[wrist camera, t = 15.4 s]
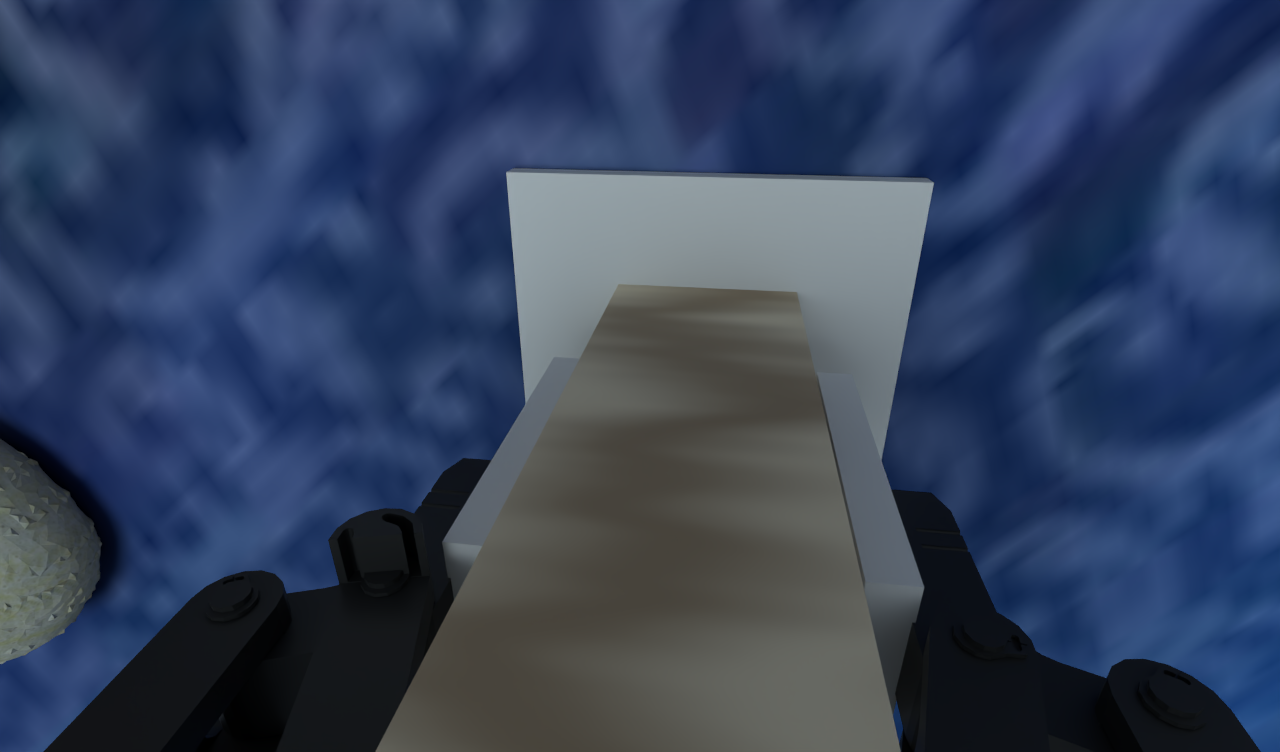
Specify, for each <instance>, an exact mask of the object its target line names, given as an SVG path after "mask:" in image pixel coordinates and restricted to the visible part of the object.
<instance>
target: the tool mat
mask: <svg viewBox="0 0 1280 752" xmlns="http://www.w3.org/2000/svg"><path fill="white" fill-rule="evenodd" d="M506 175H507V187H508V198H509V210H510V222H511V234H512V246H513V258H514V270H515V282H516V294H517V306H518V318H519V330H520V342H521V354H522V366H523V378H524V390H525V401H526V403H527V401H528V399H529V398H530V396H531V394H532V393H533V391H534V389H535V388H536V386H537V384H538V383H539V381H540V380H541V378H542V376H543V375H544V373H545V371H546V370H547V368H548V366H549V365H550V363H551V361H552V360H553V358H554V357H564V358H580V357H581V355H582V353H583V351H584V349H585V348H586V346H587V344H588V342H589V340H590V338H591V336H592V334H593V332H594V330H595V328H596V326H597V324H598V323H599V321H600V319H601V317H602V315H603V313H604V311H605V309H606V307H607V305H608V303H609V301H610V299H611V298H612V296H613V294H614V292H615V290H616V288H617V286H618V284H627V285H650V286H672V287H695V288H717V289H740V290H762V291H785V292H797V295H798V299H799V304H800V308H801V312H802V317H803V321H804V326H805V330H806V335H807V339H808V343H809V348H810V352H811V357H812V361H813V365H814V370H815V374H816V376H817V372H822V373H839V374H852V375H853V378H854V381H855V384H856V387H857V390H858V393H859V396H860V399H861V402H862V405H863V408H864V411H865V414H866V417H867V420H868V423H869V426H870V429H871V432H872V435H873V437H874V440H875V443H876V446H877V449H878V452H879V455H880V458H881V460H882V454H883V449H884V444H885V438H886V433H887V428H888V423H889V417H890V412H891V407H892V401H893V396H894V391H895V386H896V380H897V375H898V370H899V364H900V359H901V354H902V349H903V343H904V338H905V333H906V327H907V322H908V317H909V311H910V306H911V301H912V296H913V290H914V285H915V280H916V274H917V269H918V264H919V259H920V253H921V248H922V243H923V237H924V232H925V227H926V222H927V216H928V211H929V206H930V200H931V195H932V190H933V185H934V182H932V181H931V180H929V179H928V178H902V177H860V176H818V175H776V174H734V173H692V172H650V171H608V170H566V169H524V168H513V169H511V170H510V171H508V172H506Z"/></svg>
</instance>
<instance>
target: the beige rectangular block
mask: <svg viewBox="0 0 1280 752" xmlns="http://www.w3.org/2000/svg"><path fill="white" fill-rule="evenodd" d="M376 752H901V750H900V746H899V741H898V737H897V732H896V728H895V724H894V719H893V715H892V710H891V706H890V701H889V697H888V693H887V688H886V684H885V679H884V675H883V671H882V666H881V662H880V657H879V653H878V648H877V644H876V640H875V635H874V631H873V626H872V622H871V617H870V613H869V609H868V604H867V600H866V595H865V591H864V587H863V582H862V578H861V573H860V569H859V564H858V560H857V556H856V551H855V547H854V542H853V538H852V533H851V529H850V525H849V520H848V516H847V511H846V507H845V503H844V498H843V494H842V489H841V485H840V480H839V476H838V472H837V467H836V463H835V458H834V454H833V449H832V445H831V441H830V436H829V432H828V427H827V423H826V419H825V414H824V410H823V405H822V401H821V396H820V392H819V388H818V383H817V379H816V374H815V370H814V365H813V361H812V357H811V352H810V348H809V343H808V339H807V335H806V330H805V326H804V321H803V317H802V312H801V308H800V304H799V299H798V295H797V292H785V291H762V290H740V289H717V288H695V287H672V286H650V285H627V284H618V286H617V288H616V290H615V292H614V294H613V296H612V298H611V299H610V301H609V303H608V305H607V307H606V309H605V311H604V313H603V315H602V317H601V319H600V321H599V323H598V324H597V326H596V328H595V330H594V332H593V334H592V336H591V338H590V340H589V342H588V344H587V346H586V348H585V349H584V351H583V353H582V355H581V357H580V359H579V361H578V363H577V365H576V367H575V369H574V371H573V373H572V374H571V376H570V378H569V380H568V382H567V384H566V386H565V388H564V390H563V392H562V394H561V396H560V398H559V399H558V401H557V403H556V405H555V407H554V409H553V411H552V413H551V415H550V417H549V419H548V421H547V423H546V425H545V426H544V428H543V430H542V432H541V434H540V436H539V438H538V440H537V442H536V444H535V446H534V448H533V450H532V451H531V453H530V455H529V457H528V459H527V461H526V463H525V465H524V467H523V469H522V471H521V473H520V475H519V476H518V478H517V480H516V482H515V484H514V486H513V488H512V490H511V492H510V494H509V496H508V498H507V500H506V501H505V503H504V505H503V507H502V509H501V511H500V513H499V515H498V517H497V519H496V521H495V523H494V525H493V526H492V528H491V530H490V532H489V534H488V536H487V538H486V540H485V542H484V544H483V546H482V548H481V550H480V551H479V553H478V555H477V557H476V559H475V561H474V563H473V565H472V567H471V569H470V571H469V573H468V575H467V576H466V578H465V580H464V582H463V584H462V586H461V588H460V590H459V592H458V594H457V596H456V598H455V600H454V601H453V603H452V605H451V607H450V609H449V611H448V613H447V615H446V617H445V619H444V621H443V623H442V625H441V626H440V628H439V630H438V632H437V634H436V636H435V638H434V640H433V642H432V644H431V646H430V648H429V650H428V651H427V653H426V655H425V657H424V659H423V661H422V663H421V665H420V667H419V669H418V671H417V673H416V675H415V676H414V678H413V680H412V682H411V684H410V686H409V688H408V690H407V692H406V694H405V696H404V698H403V700H402V701H401V703H400V705H399V707H398V709H397V711H396V713H395V715H394V717H393V719H392V721H391V723H390V725H389V726H388V728H387V730H386V732H385V734H384V736H383V738H382V740H381V742H380V744H379V746H378V748H377V750H376Z"/></svg>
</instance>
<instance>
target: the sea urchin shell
mask: <svg viewBox="0 0 1280 752" xmlns="http://www.w3.org/2000/svg"><path fill="white" fill-rule="evenodd" d="M101 545H102V543H101V541H100V538H99V537H98V536H97V532H96V530H95V528H94V523H93V522H92V520H91V519H90V518H89V517H87V516H86V515H85V514H84V513H83V512H82V511H81V510H80V509H79V508H78V507H77V505H76V502H75V501H74V500H73V499H72V498H71V496H70V492H69V491H67V490H65V489H63V488H61V487H60V486H58V485H57V484H55V483H54V482H53V481H52V480H51V479H50V477H49V476H48V475H47V474H46V473H45V472H44V471H43V470H42V469H41V468H40V466H39V464H38V462H37V461H35V460H32V459H30V458H28V457H27V456H26V455H25V454H24V453H22V452H18V451H17V450H16V449H14V448H13V447H12V446H10V445H9V444H7V443H6V442H4V441H3V440H2V439H0V664H3V663H4V662H5V661H7V660H11V659H14V658H17V657H19V656H22V655H26V654H27V653H28V652H30V651H32V650H34V649H37V648H38V647H40V646H41V645H43V644H45V643H46V642H49V641H50V640H51V639H52V638H54V637H56V636H57V635H59V634H62V633H64V629H65V628H66V627H67V626H69V625H70V624H71V623H72V622H75V621H76V617H77V616H78V615H79V613H80V612H81V610H82V609H83V608H84V604H85V602H86V601H87V600H88V599H90V598H91V596H92V591H94V590H96V589H95V584H96V583H97V582H98V581H99V579H100V574H101V573H100V571H99V570H100V563H99V559H100V550H101V549H100V547H101Z"/></svg>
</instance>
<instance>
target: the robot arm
mask: <svg viewBox="0 0 1280 752" xmlns="http://www.w3.org/2000/svg"><path fill="white" fill-rule="evenodd" d="M579 359H580V358H564V357H554V358H553V360H552V361H551V363H550V365H549V366H548V368H547V370H546V371H545V373H544V375H543V376H542V378H541V380H540V381H539V383H538V384H537V386H536V388H535V389H534V391H533V393H532V394H531V396H530V398H529V399H528V401H527V403H526V404H525V406H524V408H523V409H522V411H521V413H520V414H519V416H518V417H517V419H516V421H515V422H514V424H513V426H512V427H511V429H510V431H509V432H508V434H507V436H506V437H505V439H504V441H503V442H502V444H501V446H500V447H499V449H498V451H497V452H496V454H495V455H494V457H493V459H492V460H481V459H468V458H463V459H462V460H460V461H459V462H457V463H456V464H454V465H453V466H451V467H450V468H449V469H447V470H446V471H444V472H443V473H442V475H441V476H440V478H439V479H438V480H437V482H436V483H435V485H434V486H433V487H432V491H431V492H429V493H428V495H427V496H426V497H425V499H424V500H423V502H422V506H419V507H418V509H417V510H416V512H415V513H411V512H408V511H405V510H403V509H387V508H385V509H379V510H374V511H369V512H366V513H363V514H361V515H358V516H356V517H353V518H351V519H349V520H348V521H347V522H345V523H344V524H342V525H341V526H340V527H338V528H337V529H336V530H335V532H334V533H333V534H332V536H331V537H330V538H329V540H328V541H329V545H330V549H331V553H332V556H333V560H334V564H335V568H336V572H337V576H338V580H339V585H337V586H333V587H328V588H323V589H316V590H309V591H302V592H295V593H288V594H286V591H285V588H284V584H283V582H282V581H281V580H280V579H279V578H278V577H277V576H276V575H275V574H273V573H269V572H265V571H245V572H241V573H237V574H234V575H230V576H227V577H224V578H222V579H220V580H218V581H216V582H214V583H212V584H210V585H208V586H206V587H205V588H204V589H202V590H201V591H200V592H199V593H197V594H196V595H195V596H194V597H192V598H191V599H190V600H189V601H188V602H187V603H186V604H185V605H184V607H183V608H182V609H181V610H180V611H179V612H178V613H177V614H176V615H175V616H174V617H173V618H172V619H171V620H170V621H169V622H168V623H167V624H166V625H165V626H164V627H163V628H162V629H161V630H160V631H159V632H158V633H157V635H156V636H155V637H154V638H153V639H152V640H151V641H150V642H149V643H148V644H147V645H146V646H145V647H144V648H143V649H142V650H141V651H140V652H139V653H138V654H137V655H136V656H135V657H134V658H133V659H132V660H131V661H130V663H129V664H128V665H127V666H126V667H125V668H124V669H123V670H122V671H121V672H120V673H119V674H118V675H117V676H116V677H115V678H114V679H113V680H112V681H111V682H110V683H109V684H108V685H107V686H106V687H105V688H104V689H103V691H102V692H101V693H100V694H99V695H98V696H97V697H96V698H95V699H94V700H93V701H92V702H91V703H90V704H89V705H88V706H87V707H86V708H85V709H84V710H83V711H82V712H81V713H80V714H79V715H78V716H77V717H76V719H75V720H74V721H73V722H72V723H71V724H70V725H69V726H68V727H67V728H66V729H65V730H64V731H63V732H62V733H61V734H60V735H59V736H58V737H57V738H56V739H55V740H54V741H53V742H52V743H51V744H50V745H49V747H48V748H47V749H46V750H45V751H44V752H376V750H377V748H378V746H379V744H380V742H381V740H382V738H383V736H384V734H385V732H386V730H387V728H388V726H389V725H390V723H391V721H392V719H393V717H394V715H395V713H396V711H397V709H398V707H399V705H400V703H401V701H402V700H403V698H404V696H405V694H406V692H407V690H408V688H409V686H410V684H411V682H412V680H413V678H414V676H415V675H416V673H417V671H418V669H419V667H420V665H421V663H422V661H423V659H424V657H425V655H426V653H427V651H428V650H429V648H430V646H431V644H432V642H433V640H434V638H435V636H436V634H437V632H438V630H439V628H440V626H441V625H442V623H443V621H444V619H445V617H446V615H447V613H448V611H449V609H450V607H451V605H452V603H453V601H454V600H455V598H456V596H457V594H458V592H459V590H460V588H461V586H462V584H463V582H464V580H465V578H466V576H467V575H468V573H469V571H470V569H471V567H472V565H473V563H474V561H475V559H476V557H477V555H478V553H479V551H480V550H481V548H482V546H483V544H484V542H485V540H486V538H487V536H488V534H489V532H490V530H491V528H492V526H493V525H494V523H495V521H496V519H497V517H498V515H499V513H500V511H501V509H502V507H503V505H504V503H505V501H506V500H507V498H508V496H509V494H510V492H511V490H512V488H513V486H514V484H515V482H516V480H517V478H518V476H519V475H520V473H521V471H522V469H523V467H524V465H525V463H526V461H527V459H528V457H529V455H530V453H531V451H532V450H533V448H534V446H535V444H536V442H537V440H538V438H539V436H540V434H541V432H542V430H543V428H544V426H545V425H546V423H547V421H548V419H549V417H550V415H551V413H552V411H553V409H554V407H555V405H556V403H557V401H558V399H559V398H560V396H561V394H562V392H563V390H564V388H565V386H566V384H567V382H568V380H569V378H570V376H571V374H572V373H573V371H574V369H575V367H576V365H577V363H578V361H579ZM816 379H817V383H818V388H819V392H820V396H821V401H822V405H823V410H824V414H825V419H826V423H827V427H828V432H829V436H830V441H831V445H832V449H833V454H834V458H835V463H836V467H837V472H838V476H839V480H840V485H841V489H842V494H843V498H844V503H845V507H846V511H847V516H848V520H849V525H850V529H851V533H852V538H853V542H854V547H855V551H856V556H857V560H858V564H859V569H860V573H861V578H862V582H863V587H864V591H865V595H866V600H867V604H868V609H869V613H870V617H871V622H872V626H873V631H874V635H875V640H876V644H877V648H878V653H879V657H880V662H881V666H882V671H883V675H884V679H885V684H886V688H887V693H888V697H889V701H890V706H891V710H892V715H893V712H894V708H895V704H896V700H897V704H898V708H899V712H900V716H901V720H902V725H903V732H902V736H901V740H900V743H899V746H900V750H901V752H1261V751H1260V750H1259V749H1258V747H1257V746H1256V744H1255V743H1254V742H1253V740H1252V739H1251V737H1250V736H1249V735H1248V733H1247V732H1246V730H1245V729H1244V728H1243V726H1242V725H1241V723H1240V722H1239V720H1238V719H1237V718H1236V716H1235V715H1234V713H1233V712H1232V711H1231V709H1230V708H1229V707H1228V706H1227V705H1226V704H1225V703H1224V702H1223V701H1222V700H1221V699H1220V698H1219V697H1218V696H1217V694H1216V693H1215V692H1214V691H1212V690H1211V689H1209V688H1208V687H1206V686H1205V685H1204V684H1202V683H1201V682H1199V681H1198V680H1197V679H1195V678H1194V677H1192V676H1190V675H1188V674H1186V673H1184V672H1182V671H1180V670H1178V669H1175V668H1173V667H1171V666H1169V665H1167V664H1162V663H1158V662H1154V661H1150V660H1146V659H1125V660H1123V661H1121V662H1119V663H1117V664H1115V665H1113V666H1112V667H1111V669H1110V672H1109V674H1108V676H1107V678H1104V677H1101V676H1098V675H1095V674H1092V673H1089V672H1086V671H1083V670H1080V669H1077V668H1074V667H1071V666H1068V665H1065V664H1062V663H1060V662H1057V661H1055V660H1052V659H1050V658H1048V657H1045V656H1043V655H1041V654H1040V653H1038V652H1036V651H1035V648H1034V646H1033V643H1032V641H1031V639H1030V638H1029V637H1028V636H1027V635H1026V634H1025V633H1024V632H1023V631H1022V629H1021V628H1020V627H1019V626H1018V625H1016V624H1015V623H1013V622H1012V621H1010V620H1009V619H1007V618H1006V617H1004V616H1003V615H1001V614H999V613H997V612H996V610H995V608H994V605H993V603H992V601H991V599H990V596H989V594H988V592H987V590H986V588H985V585H984V583H983V581H982V579H981V577H980V574H979V572H978V570H977V568H976V566H975V563H974V561H973V559H972V557H971V554H970V552H968V551H967V549H968V548H967V546H966V543H965V541H964V539H963V537H962V535H960V530H959V528H958V526H957V523H956V521H955V519H954V517H953V515H952V512H951V511H950V510H949V509H948V508H947V507H946V506H945V505H944V504H943V503H942V502H941V501H939V500H938V499H937V498H936V497H935V496H934V495H933V494H932V493H927V492H914V491H901V490H891V488H890V485H889V482H888V479H887V476H886V473H885V470H884V467H883V464H882V461H881V458H880V455H879V452H878V449H877V446H876V443H875V440H874V437H873V435H872V432H871V429H870V426H869V423H868V420H867V417H866V414H865V411H864V408H863V405H862V402H861V399H860V396H859V393H858V390H857V387H856V384H855V381H854V378H853V375H852V374H839V373H822V372H817V376H816Z"/></svg>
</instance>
